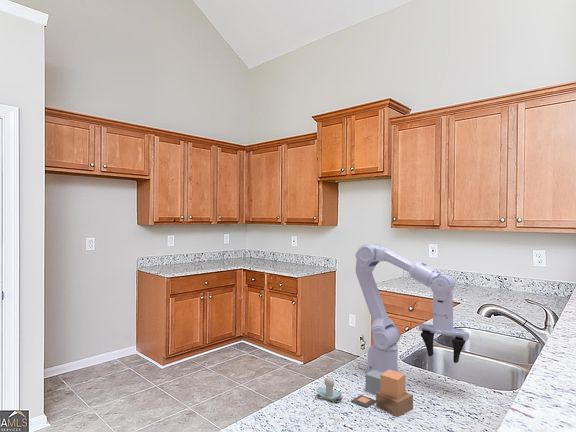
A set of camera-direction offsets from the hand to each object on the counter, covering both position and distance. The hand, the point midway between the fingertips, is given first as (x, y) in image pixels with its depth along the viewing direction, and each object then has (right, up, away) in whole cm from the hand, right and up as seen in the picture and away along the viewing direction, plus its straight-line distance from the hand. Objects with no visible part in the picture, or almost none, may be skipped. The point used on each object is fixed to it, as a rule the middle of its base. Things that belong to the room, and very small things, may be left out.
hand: (443, 358), depth 110 cm
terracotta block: (-19, -5, -11) cm, 22 cm away
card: (-26, -9, -9) cm, 29 cm away
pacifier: (-35, -9, -6) cm, 37 cm away
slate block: (-21, -9, -1) cm, 23 cm away
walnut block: (-18, -9, -12) cm, 23 cm away
